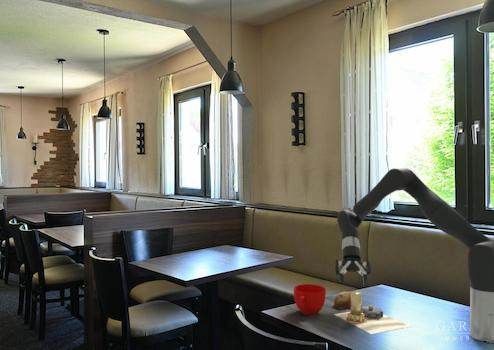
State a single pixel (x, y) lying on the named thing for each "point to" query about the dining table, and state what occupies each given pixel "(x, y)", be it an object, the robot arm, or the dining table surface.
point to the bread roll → (343, 300)
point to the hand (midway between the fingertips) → (353, 283)
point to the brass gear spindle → (356, 307)
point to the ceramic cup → (309, 298)
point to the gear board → (374, 321)
